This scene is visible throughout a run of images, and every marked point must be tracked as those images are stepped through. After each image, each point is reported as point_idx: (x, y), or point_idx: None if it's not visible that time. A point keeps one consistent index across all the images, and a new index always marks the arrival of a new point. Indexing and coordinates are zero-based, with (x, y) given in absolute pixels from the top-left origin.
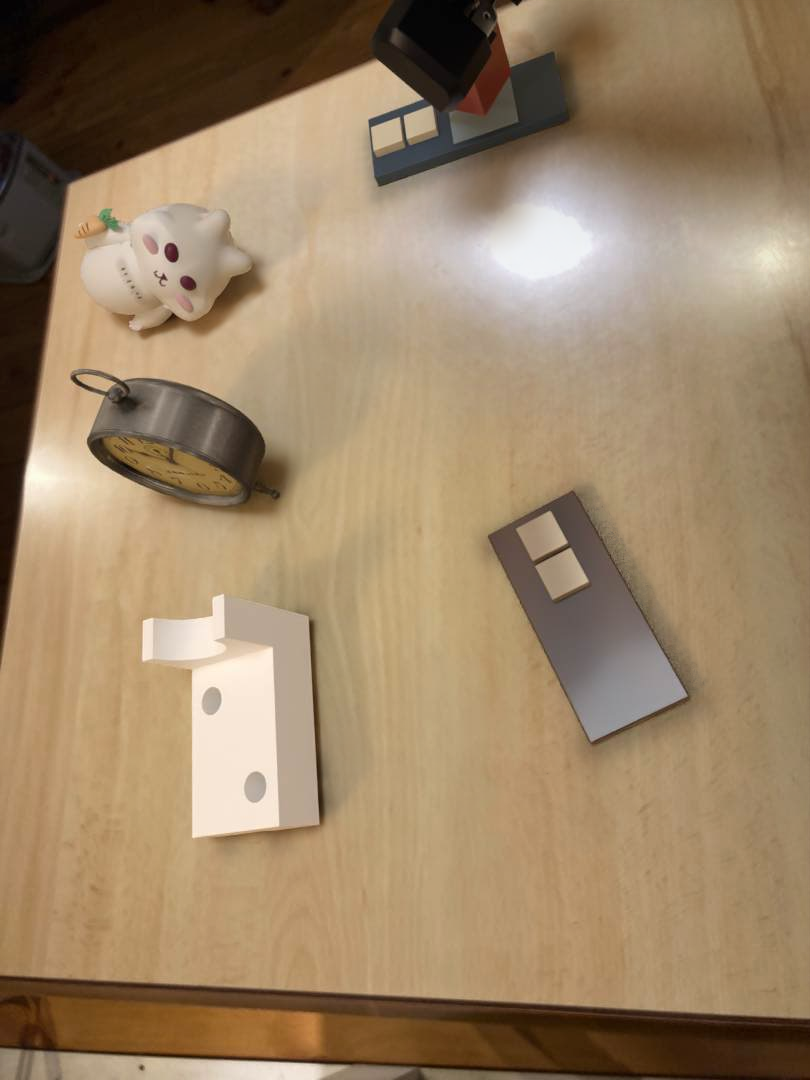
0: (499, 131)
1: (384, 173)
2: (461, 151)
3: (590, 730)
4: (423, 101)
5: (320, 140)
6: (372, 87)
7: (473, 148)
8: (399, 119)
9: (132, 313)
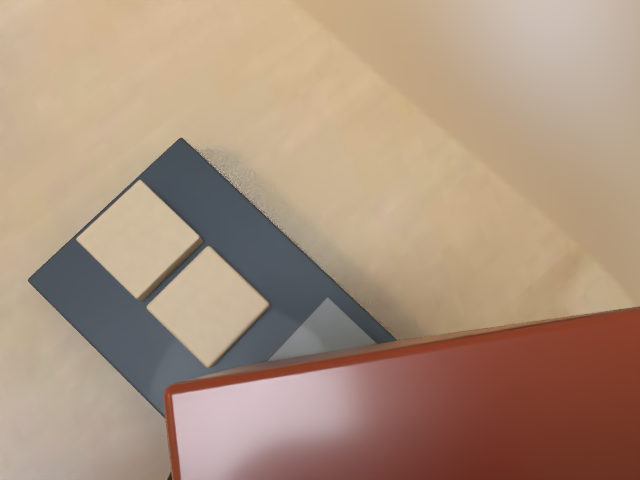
0: None
1: (48, 299)
2: None
3: None
4: (287, 247)
5: (104, 37)
6: (290, 65)
7: None
8: (191, 243)
9: None
